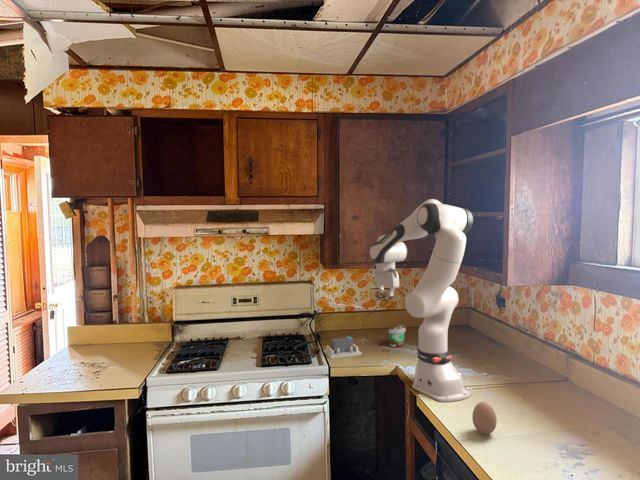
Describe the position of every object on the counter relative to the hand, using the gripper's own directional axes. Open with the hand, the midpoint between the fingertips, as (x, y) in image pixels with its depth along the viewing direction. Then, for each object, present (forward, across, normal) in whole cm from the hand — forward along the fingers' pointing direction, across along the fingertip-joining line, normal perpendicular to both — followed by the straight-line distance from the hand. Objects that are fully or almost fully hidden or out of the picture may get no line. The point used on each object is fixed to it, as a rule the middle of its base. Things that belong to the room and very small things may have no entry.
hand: (386, 294), depth 194 cm
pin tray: (+29, +7, +22) cm, 37 cm away
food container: (+29, +6, -10) cm, 32 cm away
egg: (+29, -78, +8) cm, 84 cm away
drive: (+28, +7, +22) cm, 36 cm away
